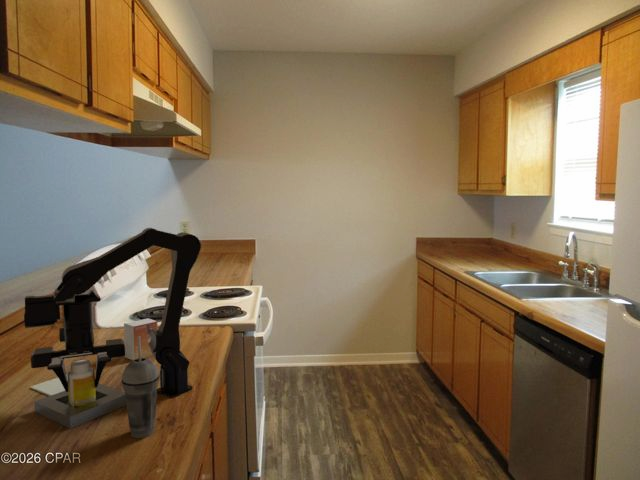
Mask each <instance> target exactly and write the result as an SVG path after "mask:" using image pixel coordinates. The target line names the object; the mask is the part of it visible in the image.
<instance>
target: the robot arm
mask: <svg viewBox="0 0 640 480" xmlns="http://www.w3.org/2000/svg"><path fill="white" fill-rule="evenodd" d="M153 246H154V247H159V248H163V249H167V250H170V255H171V256H170V259H171V266H172V267H171V273H170V278H169V282H168V288H167V293H166V298H165V302H164V308H163V314H162V318H161V323H160V325H159V326H158V327H157V330H153V329H152V331H151V340H150V342H149V344H148V345H149V347H150V348H151V352H152V354H153V356H152V357H154V359H155V361H156V362H157V363H158V364H159V365H160V366H159V367H160V368H159V369H160V370H159V385H160V387H157V393H159V394H162V395H165V396H168V397H171V398H175V397H177V396H180V395H182V394H183V393H186V392H188V391H190V390H192V389H193V387H194V386H193V385H190V384H189V383H188V381H189V380H188V379H189V377H188V374H189V373H188V369H189V365H190V361H189V359H188V357H186V355H185V354H184V353H183V352H182V351H181V338H180V337H181V336H180V323H181V318H182V314H183V309H184V303H185V298H186V293H187V288H188V283H189V278H190V273H191V270H192V269H193V267H194V266H195V264H196V262H197V260H198V257H199V255H200V252H201V250H202V243H201V240H200V239H199V238H198V237H197V236H196V235H193V234H192V233H188V232H178V233H177V234H175V233H172V232H167V231H162V230H158V229H156V228H153V227H146V228H145V229H143V230H142V231H141V232H139V233H138V234H136V235H134V236H132V237H130V238H129V239H127V240H126V241H124V242H121V243H120V244H118V245H117V246H115V247H113V248H112V249H110V250H108V251H106V252H104V253H102V254H100V255H99V256H97V257H94V258H90V259H88V260H84V261H81V262H78V263H76V264H73V265H70V266H68V267H66V269H64V270H63V272H62V275H61V282H60V284H58V286H57V287H56V288H55V289H54V292H53V293H52V294H47V295H26V296H25V297H24V312H23V313H24V314H23V316H24V317H23V319H24V320H23V321H24V328H25V329H34V328H40V327H49V326H55V325H56V323H58V321H61V307H60V306H62V308H63V309H62V310H63V311H62V312H63V327H61V328H59V337H58V340H59V342H60V343H64V345H65V346H64V347H65V349H61V350H54V346H47V347H45V346H44V347H38V348H35V349H34V350H33V351H32V354H31V356H30V367H31V369H39V368H40V369H41V368H46V369H47V370H48V371H50V370H51V371H53V372H54V374H55V375H56V376H57V378H59V379H60V381H61V383H62V385H63V387H64V389H65V391H66V392H68V381H67V371H66V367H65V366H66V365H65V359H69V358H70V359H71V358H79V357H86V356H94V355H96V366H95V388H96V387H97V386H98V383H99V382H100V380H101V376H102V373H103V372H104V369H105V366H106V365H107V364H108V363H109V362H112V359H113V358H122V357H125V343H124V339H123V338H114V339H107V340H105V344H101V345H94V344H95V337H94V335H95V334H94V324H93V307H92V304H93V303H94V302H95V303H96V302H101V297H100V295H99V294H97V293H95V291H94V289H91V288H92V287H93V286H95V285H96V284H97V283H98V282H99V281H100V280H101V279H103V277H104V276H105V275H107V274H108V273H109V272H111V271H112V270H113V269H116V268H117V267H119V266H121V265H122V264H125V263H126V262H127V261H129V260H131V259H133V258H134V257H136V256H138V255H139V254H141V253H143V252H144V251H146V250H148V249H149V248H151V247H153ZM88 290H89V292H88V293H87V291H88ZM72 296H73V298H71V297H72Z"/></svg>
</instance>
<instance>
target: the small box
mask: <svg viewBox="0 0 640 480" xmlns="http://www.w3.org/2000/svg"><path fill="white" fill-rule="evenodd" d="M152 329H153V330H158V321H156V320H154V319H152V318H148V317H147V318H143V319H140V320H134V321H131V322H130V321H129V322H125V323H123V333H124V334H123V335H124V336H123V337H124V339H123V340H124V344H125V356H124V358H126V359H128V360H130V361H133V360H135V359H138V336H140V343H141V358H146V359H148V358H150V357H154V356H153V354H152V352H151V348H150V347H149V345H148V344H149V342H150V340H151V331H152Z"/></svg>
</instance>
